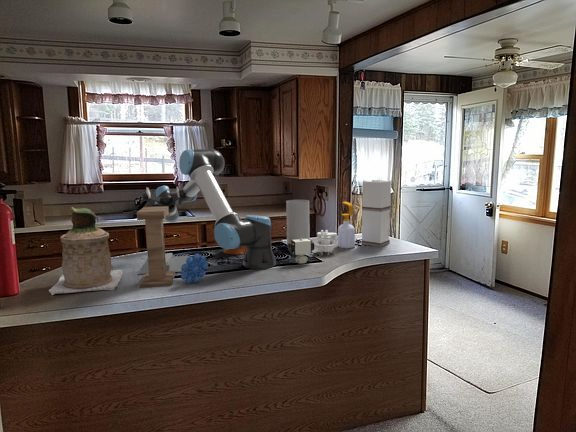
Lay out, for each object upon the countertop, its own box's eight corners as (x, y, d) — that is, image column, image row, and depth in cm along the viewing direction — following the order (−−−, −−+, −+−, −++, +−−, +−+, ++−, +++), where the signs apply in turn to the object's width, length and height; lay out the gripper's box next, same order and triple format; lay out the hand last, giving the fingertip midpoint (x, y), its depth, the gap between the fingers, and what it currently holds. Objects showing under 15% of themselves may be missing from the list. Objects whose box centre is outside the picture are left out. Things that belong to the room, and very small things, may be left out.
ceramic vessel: (214, 255, 216) (213, 226, 214) (242, 244, 239) (241, 218, 237) (237, 257, 210) (236, 228, 208) (263, 246, 233) (262, 219, 231)
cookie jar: (118, 290, 164) (111, 208, 159) (47, 297, 157) (38, 212, 152) (123, 272, 187) (117, 201, 182) (62, 278, 180) (54, 204, 175)
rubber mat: (184, 272, 186) (184, 271, 186) (137, 275, 183) (137, 273, 183) (189, 256, 213) (189, 255, 213) (148, 258, 210) (148, 257, 210)
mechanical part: (313, 256, 210) (313, 232, 208) (316, 250, 222) (315, 228, 220) (336, 256, 208) (336, 233, 206) (337, 250, 220) (337, 228, 218)
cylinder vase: (282, 246, 231) (281, 201, 227) (295, 242, 241) (294, 199, 237) (301, 249, 224) (301, 203, 220) (313, 245, 234) (313, 200, 230)
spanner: (169, 270, 187) (169, 264, 187) (155, 271, 186) (155, 265, 186) (174, 257, 209) (174, 252, 209) (162, 258, 208) (162, 253, 208)
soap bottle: (342, 244, 235) (343, 200, 231) (357, 245, 230) (358, 201, 226) (334, 247, 228) (334, 202, 224) (349, 249, 223) (350, 203, 219)
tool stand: (170, 285, 168) (166, 211, 163) (139, 287, 166) (133, 212, 161) (175, 274, 183) (171, 205, 179) (146, 275, 182) (141, 207, 177)
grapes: (204, 277, 178) (203, 249, 176) (211, 281, 172) (209, 253, 170) (177, 282, 171) (176, 254, 169) (183, 287, 166) (182, 257, 164)
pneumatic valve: (314, 262, 198) (314, 237, 196) (291, 265, 194) (290, 239, 192) (310, 259, 203) (310, 235, 201) (287, 262, 199) (287, 237, 197)
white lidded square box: (389, 243, 235) (390, 180, 229) (380, 247, 227) (381, 182, 221) (371, 240, 242) (372, 180, 236) (361, 244, 234) (362, 181, 228)
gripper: (193, 212, 216) (189, 196, 196) (142, 214, 212) (134, 197, 192) (193, 199, 218) (189, 181, 199) (143, 200, 215) (134, 183, 195)
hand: (162, 189), depth 196 cm, fingers open, 13 cm apart
